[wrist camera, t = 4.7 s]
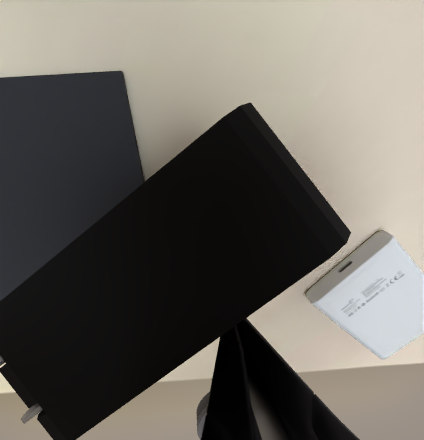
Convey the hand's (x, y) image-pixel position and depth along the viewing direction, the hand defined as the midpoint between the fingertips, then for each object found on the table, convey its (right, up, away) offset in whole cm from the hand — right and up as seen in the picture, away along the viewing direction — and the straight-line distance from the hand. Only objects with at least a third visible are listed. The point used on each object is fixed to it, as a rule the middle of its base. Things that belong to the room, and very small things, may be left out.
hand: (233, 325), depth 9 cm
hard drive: (+15, -3, +13) cm, 20 cm away
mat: (-11, +2, +7) cm, 13 cm away
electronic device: (-2, +3, +7) cm, 8 cm away
